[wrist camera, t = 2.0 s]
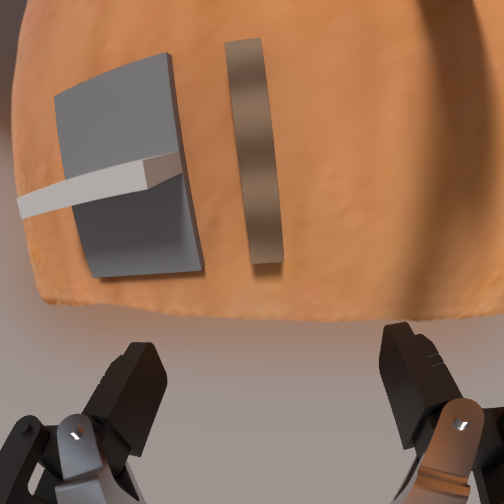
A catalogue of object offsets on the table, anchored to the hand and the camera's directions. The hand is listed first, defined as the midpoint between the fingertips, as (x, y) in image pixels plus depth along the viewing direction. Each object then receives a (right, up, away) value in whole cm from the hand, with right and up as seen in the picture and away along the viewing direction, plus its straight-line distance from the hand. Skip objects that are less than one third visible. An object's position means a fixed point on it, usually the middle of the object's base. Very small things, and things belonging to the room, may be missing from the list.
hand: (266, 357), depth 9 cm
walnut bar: (0, +13, +17) cm, 21 cm away
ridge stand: (-14, +12, +18) cm, 26 cm away
